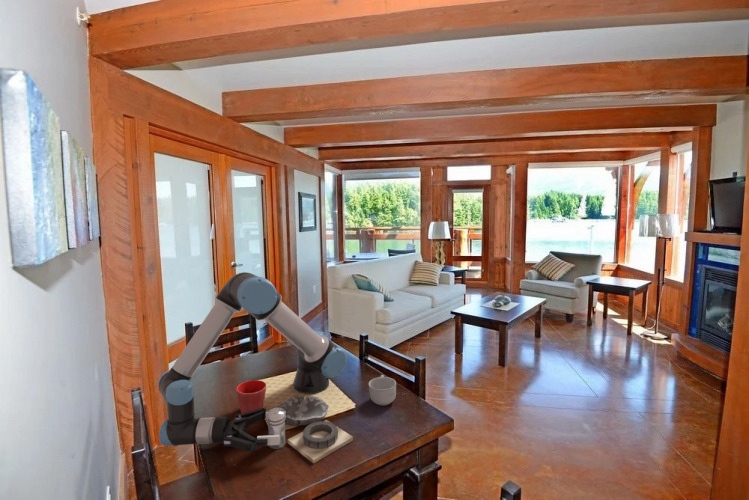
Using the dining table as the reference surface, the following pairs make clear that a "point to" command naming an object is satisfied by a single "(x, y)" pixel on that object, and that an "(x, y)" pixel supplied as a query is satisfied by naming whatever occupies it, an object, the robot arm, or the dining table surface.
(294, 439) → the ring board
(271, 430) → the piston
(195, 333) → the robot arm
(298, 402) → the brain slice
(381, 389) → the teacup
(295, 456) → the dining table surface
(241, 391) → the flower pot
